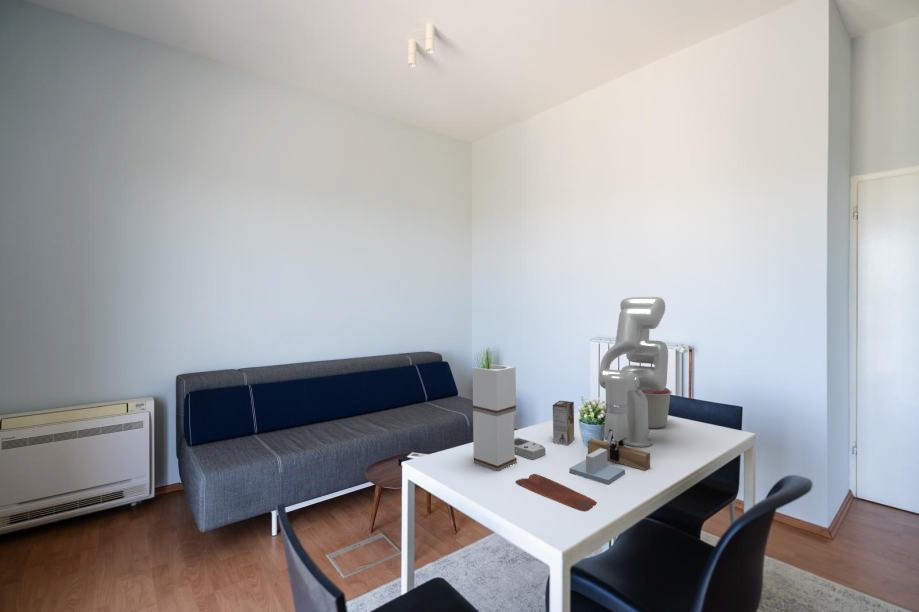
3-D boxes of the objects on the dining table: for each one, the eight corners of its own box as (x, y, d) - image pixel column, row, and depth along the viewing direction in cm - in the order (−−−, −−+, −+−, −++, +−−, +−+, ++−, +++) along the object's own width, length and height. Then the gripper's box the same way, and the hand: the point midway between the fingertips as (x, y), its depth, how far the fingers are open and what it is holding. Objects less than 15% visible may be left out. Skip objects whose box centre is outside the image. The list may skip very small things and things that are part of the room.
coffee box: (559, 437, 185) (559, 400, 184) (574, 439, 181) (574, 401, 181) (552, 443, 177) (552, 404, 177) (568, 445, 173) (567, 406, 173)
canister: (654, 433, 187) (654, 385, 187) (621, 423, 203) (620, 379, 203) (680, 427, 196) (680, 381, 196) (646, 418, 212) (646, 375, 212)
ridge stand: (587, 462, 155) (586, 443, 155) (624, 473, 145) (624, 453, 145) (569, 472, 146) (569, 452, 146) (608, 484, 136) (608, 462, 136)
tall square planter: (516, 463, 156) (515, 367, 155) (497, 471, 148) (496, 370, 148) (492, 455, 164) (491, 364, 163) (473, 463, 156) (472, 367, 156)
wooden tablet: (513, 484, 139) (512, 479, 139) (533, 476, 145) (533, 471, 145) (582, 516, 118) (582, 510, 118) (603, 504, 124) (603, 499, 124)
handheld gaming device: (532, 461, 158) (532, 451, 158) (503, 451, 169) (503, 441, 169) (547, 455, 164) (547, 445, 164) (517, 446, 175) (517, 436, 175)
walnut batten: (593, 451, 166) (593, 438, 166) (650, 467, 150) (650, 453, 150) (587, 453, 163) (587, 440, 163) (645, 470, 147) (644, 456, 147)
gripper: (617, 402, 165) (618, 449, 165) (595, 411, 153) (596, 462, 153) (636, 405, 159) (637, 454, 160) (616, 415, 148) (616, 467, 148)
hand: (617, 457), depth 156 cm, fingers closed on walnut batten, 4 cm apart
